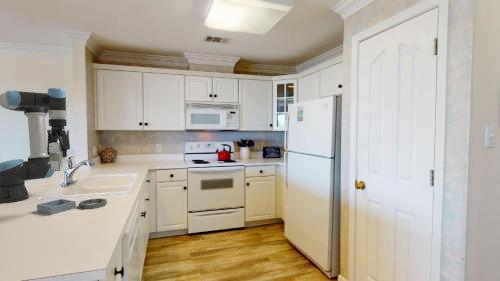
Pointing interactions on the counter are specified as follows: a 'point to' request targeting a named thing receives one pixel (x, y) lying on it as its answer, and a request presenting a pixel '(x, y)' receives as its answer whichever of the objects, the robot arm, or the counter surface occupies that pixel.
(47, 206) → the tray
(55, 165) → the syrup box
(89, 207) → the collar
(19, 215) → the counter surface
